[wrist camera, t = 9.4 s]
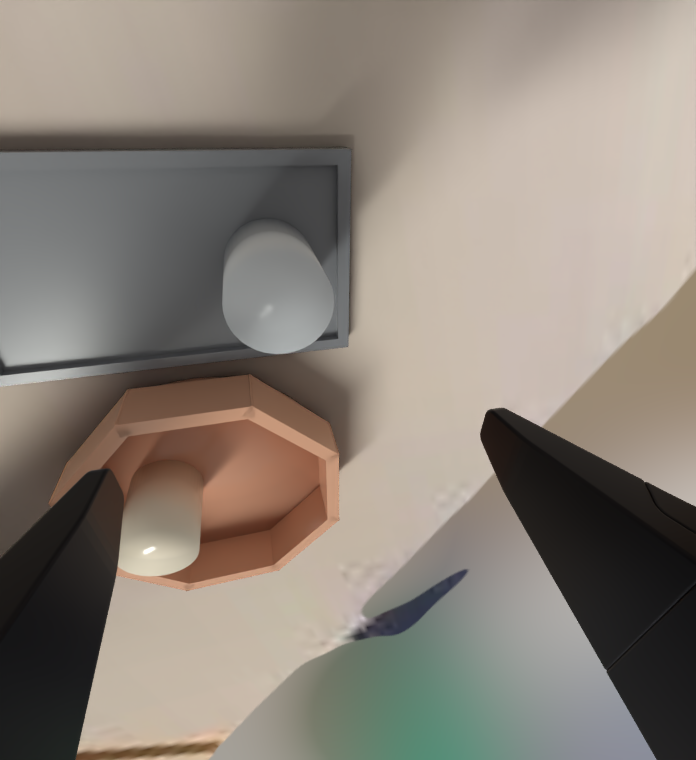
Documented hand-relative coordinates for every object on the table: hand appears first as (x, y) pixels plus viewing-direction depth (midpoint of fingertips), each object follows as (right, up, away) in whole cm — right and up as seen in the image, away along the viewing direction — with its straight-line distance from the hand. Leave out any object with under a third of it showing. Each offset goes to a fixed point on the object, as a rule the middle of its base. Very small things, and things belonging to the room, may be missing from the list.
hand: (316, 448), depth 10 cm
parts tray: (-8, +7, +9) cm, 14 cm away
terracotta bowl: (-8, -4, +18) cm, 20 cm away
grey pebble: (-3, +7, +10) cm, 13 cm away
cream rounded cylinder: (-11, -5, +16) cm, 20 cm away
